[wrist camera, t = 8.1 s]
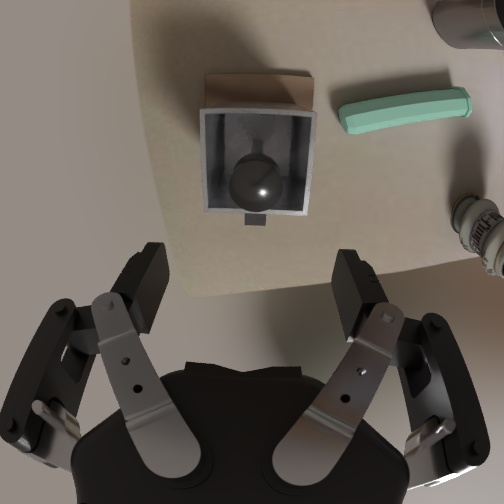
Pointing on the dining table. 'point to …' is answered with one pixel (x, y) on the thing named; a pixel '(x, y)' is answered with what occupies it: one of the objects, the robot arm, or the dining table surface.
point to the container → (404, 109)
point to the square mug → (218, 182)
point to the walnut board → (259, 88)
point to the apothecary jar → (481, 231)
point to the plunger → (257, 158)
